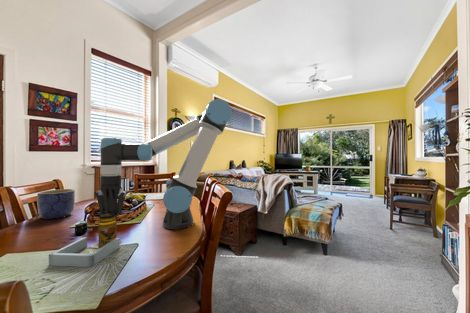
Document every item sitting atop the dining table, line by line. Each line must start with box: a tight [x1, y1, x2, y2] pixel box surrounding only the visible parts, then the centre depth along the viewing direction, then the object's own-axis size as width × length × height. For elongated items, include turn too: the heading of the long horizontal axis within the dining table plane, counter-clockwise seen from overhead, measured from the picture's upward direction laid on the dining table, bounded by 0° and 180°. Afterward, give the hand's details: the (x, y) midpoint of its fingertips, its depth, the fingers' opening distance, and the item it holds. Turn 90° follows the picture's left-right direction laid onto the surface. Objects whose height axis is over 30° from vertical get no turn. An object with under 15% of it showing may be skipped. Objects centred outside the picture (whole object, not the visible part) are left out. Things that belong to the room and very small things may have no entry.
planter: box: [36, 188, 76, 220], centre depth 120 cm, size 16×16×15 cm
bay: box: [48, 236, 121, 268], centre depth 72 cm, size 14×14×4 cm
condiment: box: [90, 213, 122, 249], centre depth 81 cm, size 7×8×12 cm
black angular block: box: [68, 222, 94, 238], centre depth 94 cm, size 12×7×5 cm, turn 5°
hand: (110, 231), depth 85 cm, fingers closed
